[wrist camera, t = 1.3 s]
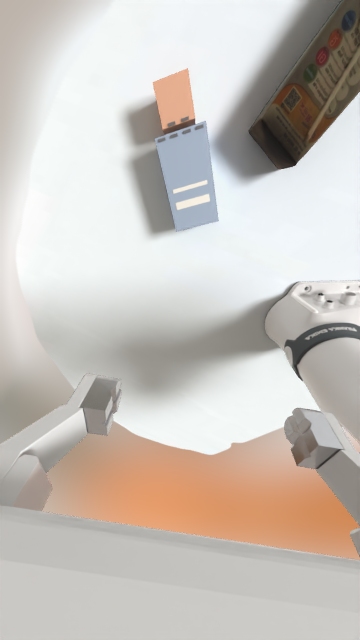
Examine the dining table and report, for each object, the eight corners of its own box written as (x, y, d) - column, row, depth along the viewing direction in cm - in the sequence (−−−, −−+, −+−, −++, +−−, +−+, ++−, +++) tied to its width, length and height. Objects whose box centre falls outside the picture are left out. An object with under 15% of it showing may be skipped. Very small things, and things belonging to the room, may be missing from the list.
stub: (188, 87, 28) (187, 67, 23) (195, 129, 30) (195, 117, 26) (158, 99, 28) (152, 81, 24) (166, 138, 31) (162, 129, 26)
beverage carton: (412, 16, 24) (479, -39, 18) (278, 174, 32) (296, 169, 27) (378, -55, 22) (442, -143, 16) (244, 134, 30) (255, 120, 25)
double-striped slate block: (204, 131, 30) (205, 120, 26) (215, 218, 36) (218, 221, 32) (160, 146, 31) (154, 138, 27) (178, 227, 37) (176, 231, 33)
